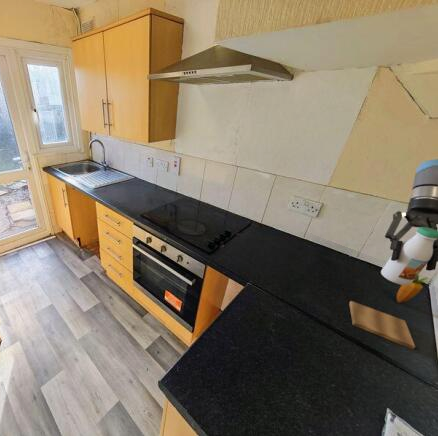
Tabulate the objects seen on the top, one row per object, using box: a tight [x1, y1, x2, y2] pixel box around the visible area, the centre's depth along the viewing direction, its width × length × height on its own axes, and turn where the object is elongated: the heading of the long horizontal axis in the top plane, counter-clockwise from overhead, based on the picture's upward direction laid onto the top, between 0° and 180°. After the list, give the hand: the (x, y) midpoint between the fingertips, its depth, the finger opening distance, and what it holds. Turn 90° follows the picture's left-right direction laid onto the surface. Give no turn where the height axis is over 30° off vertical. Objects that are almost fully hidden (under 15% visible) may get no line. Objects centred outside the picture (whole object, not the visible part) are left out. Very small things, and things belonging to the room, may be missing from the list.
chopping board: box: [348, 300, 416, 350], centre depth 83 cm, size 16×12×2 cm
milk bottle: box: [380, 227, 438, 286], centre depth 75 cm, size 8×8×20 cm
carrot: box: [396, 274, 428, 304], centre depth 89 cm, size 5×5×15 cm
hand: (412, 264), depth 73 cm, fingers closed on milk bottle, 8 cm apart
